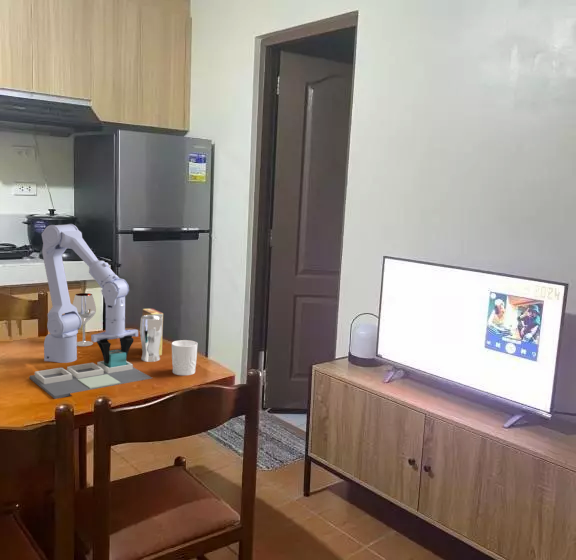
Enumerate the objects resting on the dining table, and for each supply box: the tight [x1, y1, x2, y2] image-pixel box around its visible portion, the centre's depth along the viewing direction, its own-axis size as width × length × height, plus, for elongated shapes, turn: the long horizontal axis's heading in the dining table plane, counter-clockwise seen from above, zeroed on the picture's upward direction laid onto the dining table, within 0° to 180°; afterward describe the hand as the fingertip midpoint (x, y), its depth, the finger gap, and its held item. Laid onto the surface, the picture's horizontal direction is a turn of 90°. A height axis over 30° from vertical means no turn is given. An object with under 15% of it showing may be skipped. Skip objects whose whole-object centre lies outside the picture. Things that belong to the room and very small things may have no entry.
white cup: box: [171, 339, 198, 376], centre depth 188 cm, size 8×8×10 cm
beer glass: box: [139, 315, 162, 363], centre depth 200 cm, size 7×7×15 cm
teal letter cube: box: [104, 349, 127, 368], centre depth 189 cm, size 5×5×5 cm
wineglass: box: [72, 292, 97, 347], centre depth 216 cm, size 8×8×18 cm
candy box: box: [141, 308, 164, 356], centre depth 208 cm, size 9×4×15 cm, turn 36°
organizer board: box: [29, 360, 153, 400], centre depth 180 cm, size 20×29×2 cm
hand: (115, 361), depth 189 cm, fingers closed on teal letter cube, 5 cm apart
